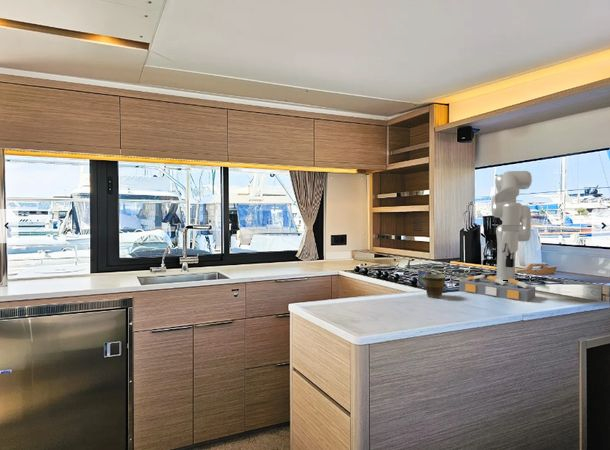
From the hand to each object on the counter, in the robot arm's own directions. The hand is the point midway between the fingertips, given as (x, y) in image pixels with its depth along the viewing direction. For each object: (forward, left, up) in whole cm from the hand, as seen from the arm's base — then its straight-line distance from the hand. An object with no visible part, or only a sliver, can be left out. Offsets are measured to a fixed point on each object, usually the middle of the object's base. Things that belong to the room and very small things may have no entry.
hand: (509, 267), depth 202 cm
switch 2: (0, -6, -8) cm, 10 cm away
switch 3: (0, +4, -8) cm, 9 cm away
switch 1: (0, -16, -8) cm, 18 cm away
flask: (+10, -39, -15) cm, 43 cm away
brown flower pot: (+26, -27, -14) cm, 40 cm away
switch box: (0, -6, -14) cm, 15 cm away
